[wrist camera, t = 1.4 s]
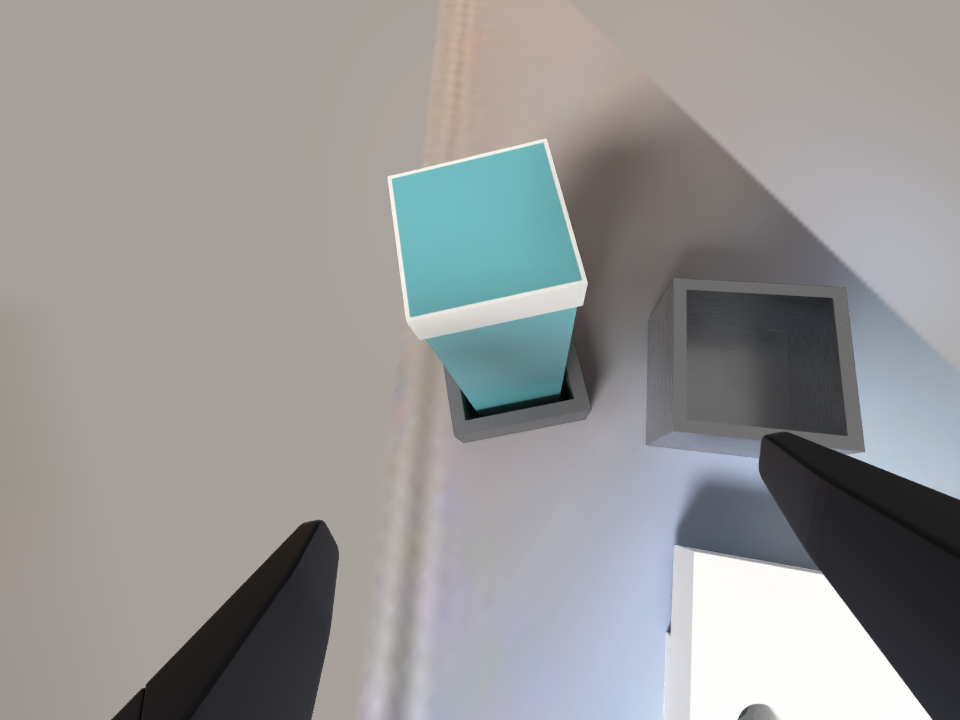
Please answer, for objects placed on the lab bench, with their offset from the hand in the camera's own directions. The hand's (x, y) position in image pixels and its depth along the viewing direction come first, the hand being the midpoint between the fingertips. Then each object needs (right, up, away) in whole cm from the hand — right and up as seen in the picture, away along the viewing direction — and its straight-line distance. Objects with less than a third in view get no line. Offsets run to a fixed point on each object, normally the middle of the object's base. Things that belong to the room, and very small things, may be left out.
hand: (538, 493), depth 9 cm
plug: (0, +2, +14) cm, 14 cm away
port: (+10, +2, +12) cm, 16 cm away
